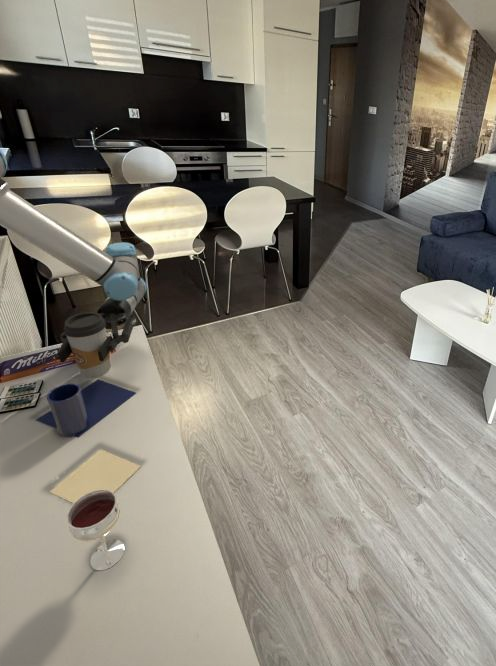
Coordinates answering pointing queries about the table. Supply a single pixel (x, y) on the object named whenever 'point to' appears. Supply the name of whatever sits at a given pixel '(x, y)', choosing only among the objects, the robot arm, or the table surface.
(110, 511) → the wineglass
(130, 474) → the cream mat
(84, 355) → the coffee cup
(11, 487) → the table surface
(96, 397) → the navy mat
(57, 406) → the navy tumbler
